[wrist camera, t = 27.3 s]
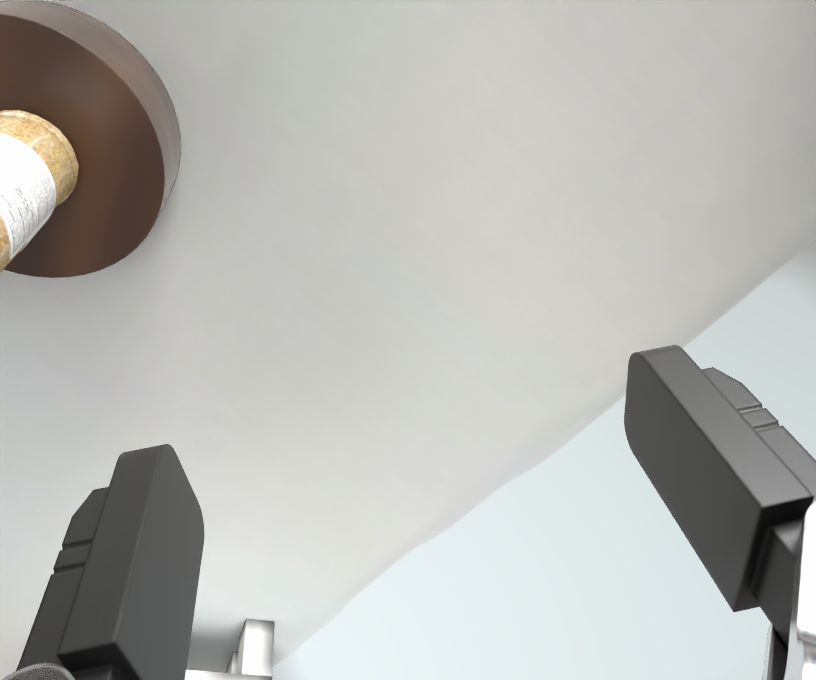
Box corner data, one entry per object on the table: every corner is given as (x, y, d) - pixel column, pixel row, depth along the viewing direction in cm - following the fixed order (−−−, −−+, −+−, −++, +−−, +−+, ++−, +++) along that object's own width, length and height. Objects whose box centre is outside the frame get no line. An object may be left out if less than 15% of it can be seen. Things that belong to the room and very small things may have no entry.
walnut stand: (-90, 184, 34) (-144, 221, 30) (-53, -54, 29) (-113, -49, 25) (144, 268, 38) (125, 310, 34) (212, 74, 33) (199, 96, 29)
